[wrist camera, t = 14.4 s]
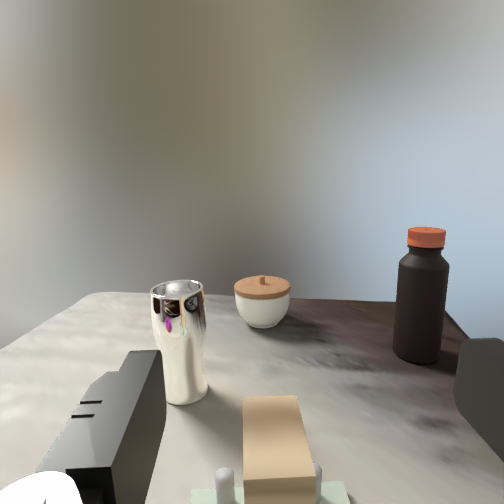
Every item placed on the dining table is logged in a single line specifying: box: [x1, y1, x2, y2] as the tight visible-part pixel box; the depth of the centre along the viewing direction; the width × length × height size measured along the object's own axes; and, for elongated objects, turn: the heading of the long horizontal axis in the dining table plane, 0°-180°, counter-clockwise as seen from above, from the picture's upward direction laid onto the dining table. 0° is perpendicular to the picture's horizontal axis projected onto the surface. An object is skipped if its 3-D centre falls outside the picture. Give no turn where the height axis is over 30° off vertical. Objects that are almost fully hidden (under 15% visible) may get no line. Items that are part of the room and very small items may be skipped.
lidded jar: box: [234, 275, 290, 328], centre depth 67 cm, size 11×11×9 cm
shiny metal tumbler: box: [150, 280, 208, 405], centre depth 46 cm, size 7×7×15 cm
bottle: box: [393, 227, 449, 364], centre depth 53 cm, size 7×7×20 cm
